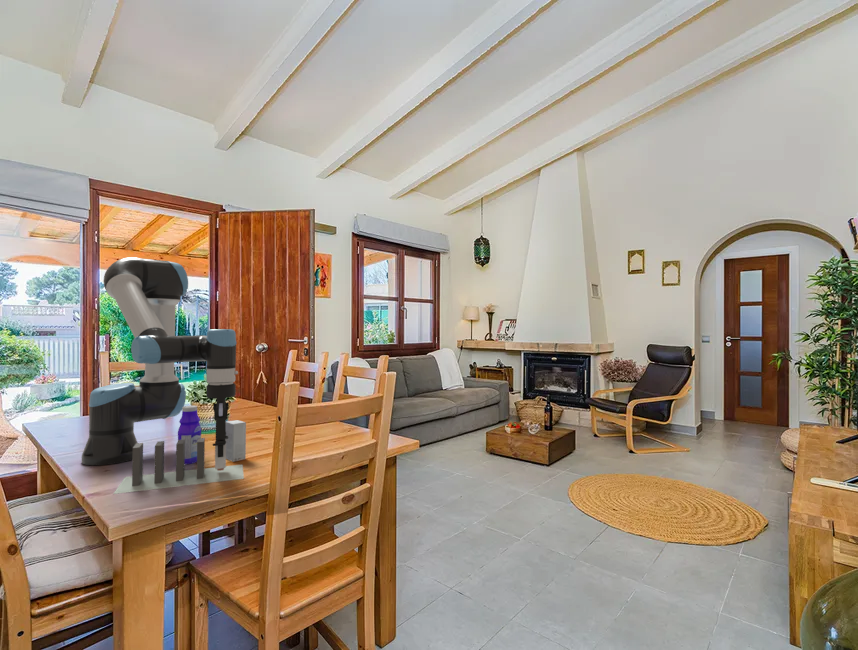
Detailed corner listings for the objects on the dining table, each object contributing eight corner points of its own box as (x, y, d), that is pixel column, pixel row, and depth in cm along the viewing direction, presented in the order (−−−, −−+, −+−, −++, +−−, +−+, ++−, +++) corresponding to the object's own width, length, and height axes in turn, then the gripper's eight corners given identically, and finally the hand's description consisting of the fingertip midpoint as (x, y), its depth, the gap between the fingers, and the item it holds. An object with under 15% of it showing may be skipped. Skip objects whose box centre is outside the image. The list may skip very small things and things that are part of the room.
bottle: (192, 466, 136) (193, 408, 136) (173, 466, 136) (174, 408, 136) (204, 459, 143) (205, 404, 144) (186, 459, 143) (187, 404, 144)
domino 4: (196, 479, 123) (197, 442, 123) (197, 473, 128) (198, 438, 128) (203, 478, 124) (203, 441, 124) (204, 472, 128) (204, 437, 129)
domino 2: (154, 483, 119) (154, 445, 119) (157, 478, 124) (157, 441, 124) (161, 483, 120) (161, 445, 120) (163, 477, 124) (164, 441, 125)
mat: (113, 495, 112) (113, 493, 112) (125, 478, 125) (125, 477, 125) (243, 479, 124) (243, 478, 124) (242, 465, 137) (242, 464, 137)
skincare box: (246, 460, 143) (246, 422, 143) (232, 462, 140) (233, 424, 140) (237, 456, 147) (237, 419, 147) (224, 459, 144) (224, 421, 144)
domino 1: (132, 486, 117) (132, 447, 117) (135, 480, 122) (136, 443, 122) (139, 485, 118) (139, 447, 118) (142, 479, 122) (143, 442, 122)
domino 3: (175, 481, 121) (176, 444, 121) (177, 475, 126) (178, 439, 126) (182, 480, 122) (183, 443, 122) (184, 475, 126) (184, 439, 127)
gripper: (236, 386, 121) (235, 472, 121) (235, 379, 138) (234, 455, 138) (204, 387, 118) (204, 476, 118) (208, 380, 135) (207, 458, 135)
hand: (220, 465), depth 128 cm, fingers closed on end domino, 5 cm apart
